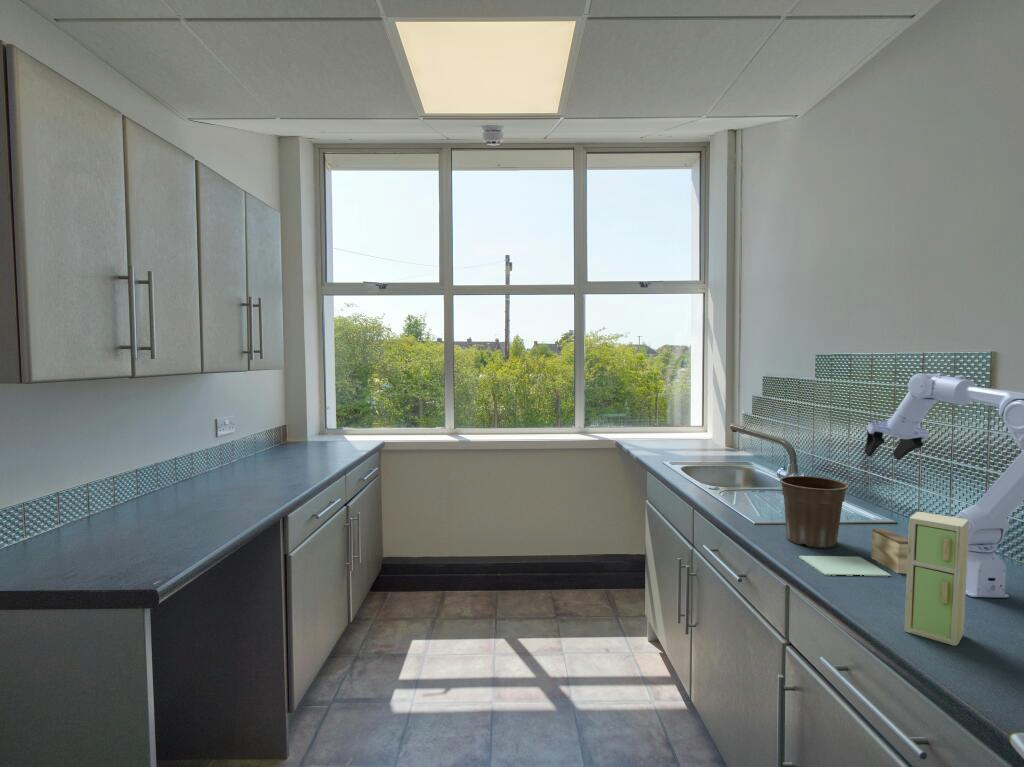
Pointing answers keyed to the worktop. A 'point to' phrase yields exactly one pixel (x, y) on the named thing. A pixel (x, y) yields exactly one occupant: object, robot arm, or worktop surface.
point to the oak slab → (890, 550)
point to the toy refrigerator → (936, 577)
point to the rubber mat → (843, 566)
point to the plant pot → (812, 509)
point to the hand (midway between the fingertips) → (881, 455)
